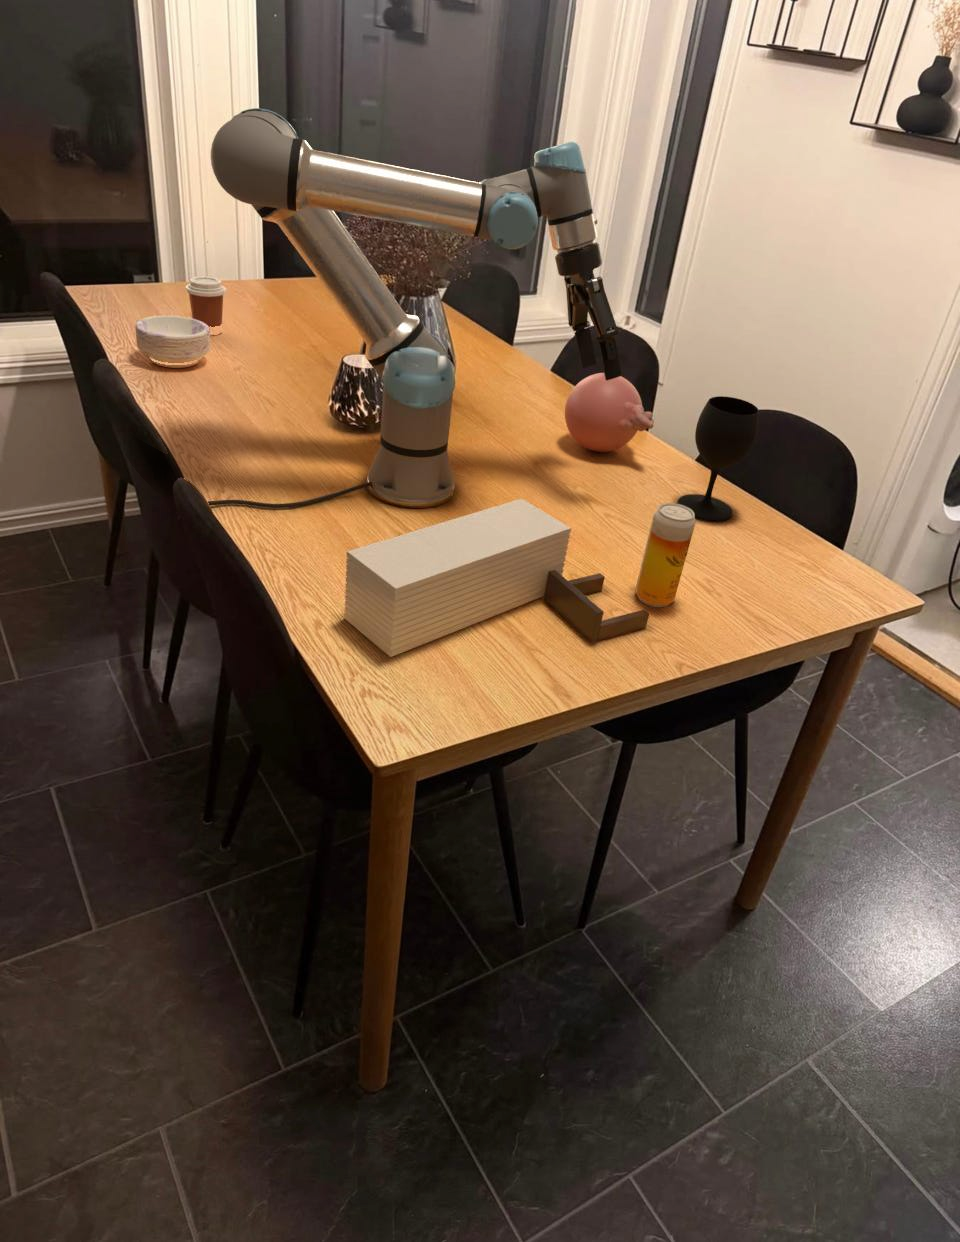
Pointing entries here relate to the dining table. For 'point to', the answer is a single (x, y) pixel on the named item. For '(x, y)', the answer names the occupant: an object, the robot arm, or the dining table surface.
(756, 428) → the wine glass
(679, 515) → the beer can
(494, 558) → the stack of papers
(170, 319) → the paper bowls
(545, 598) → the brown wooden u-shaped frame
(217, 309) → the coffee cup
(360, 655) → the dining table surface
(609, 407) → the balloon
